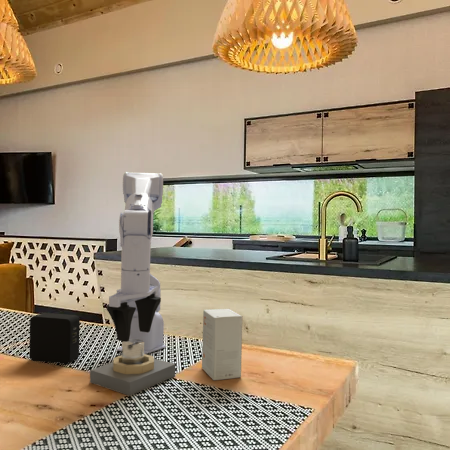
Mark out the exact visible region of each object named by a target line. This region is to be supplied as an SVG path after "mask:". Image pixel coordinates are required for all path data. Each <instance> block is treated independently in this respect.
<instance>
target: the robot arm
mask: <svg viewBox="0 0 450 450" xmlns="http://www.w3.org/2000/svg"><path fill="white" fill-rule="evenodd" d="M122 176H123V177H122V192H123V193H122V194H123V199H124V204H125V206H124V212H120V214H119V219H118V231H119V236H120V237H119V238H120V243H119V244H120V247H121V256H120V257H121V260H120V262H121V263H120V264H121V266H120V269H121V270H120V288H119V289H116V293H114V294H113V295H110V296H108V304H106V311H107V313H108V314H109V316H110V317H111V318H110V319H111V320H112V322H113V325H114V328H115V329H114V330H115V333H116V337H117V341H119V342H123V341H124V342H127V341H129V340H130V339H138V340H143V341H144V354H146V355H149V354H150V353H154V352H156V351H159V350H162V349H164V348H166V347H167V345H166V344H164V336H165V335H164V330H165V329H164V327H165V322H164V318H163V316H162V314H161V313H160V311H161V302H162V298H161V296H162V295H161V291H162V288H161V282H160V280H159V279H158V278H157V277H156V276H154V275H152V274H151V253H152V252H151V248H152V247H151V244H152V242H151V241H152V238H153V234H154V213H155V211H156V210H158V209H160V208H162V204H163V195H164V174H162V172H159V173H158V172H155V173H154V172H134V171H133V172H132V171H130V172H129V171H124V173H123V175H122ZM116 351H119V352H122V346H120V347H117V348H116Z"/></svg>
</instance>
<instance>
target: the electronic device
mask: <svg viewBox="0 0 450 450" xmlns="http://www.w3.org/2000/svg"><path fill="white" fill-rule="evenodd" d="M80 322H81V319H80V316H79V315H76V314H65V313H51V312H41V313H37V314H36V315H34V314H33V316H31V317H30V319H29V360H31V361H35V362H43V363H44V362H45V363H53V364H61V365H67V364H70V363H72V362H73V361H74V360H76V359H78V358H79V356H80V325H81V324H80Z"/></svg>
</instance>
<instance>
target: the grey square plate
mask: <svg viewBox="0 0 450 450" xmlns="http://www.w3.org/2000/svg"><path fill="white" fill-rule="evenodd" d="M174 377H176V364H175V363H172V362H168V361H165V360H161V359H157V358H155V357H154V356H153V355H150V354H144V363H142V364H135V365H126V364H123V363H122V354H121V355H119V356H116V357H113V362H109V363H106V364H105V365H101V366H97V367H95V368H92V369H90V370H89V383H91V384H94V385H96V386H99V387H102V388H106V389H108V390H111V391H114V392H118V393H121V394H124V395H126V396H133V395H135V394H137V393H139V392H142V391H144V390H146V389H149V388H151V387H153V386H155V385H158V384H160V383H162V382H164V381H167V380H169V379H172V378H174Z"/></svg>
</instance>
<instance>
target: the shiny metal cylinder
mask: <svg viewBox="0 0 450 450" xmlns="http://www.w3.org/2000/svg"><path fill="white" fill-rule="evenodd" d="M121 347H122V351H121V355H122V363H123V364H126V365H135V364H142V363H144V341H143V340H138V339H130V340H129V341H127V342H124V341H121Z"/></svg>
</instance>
